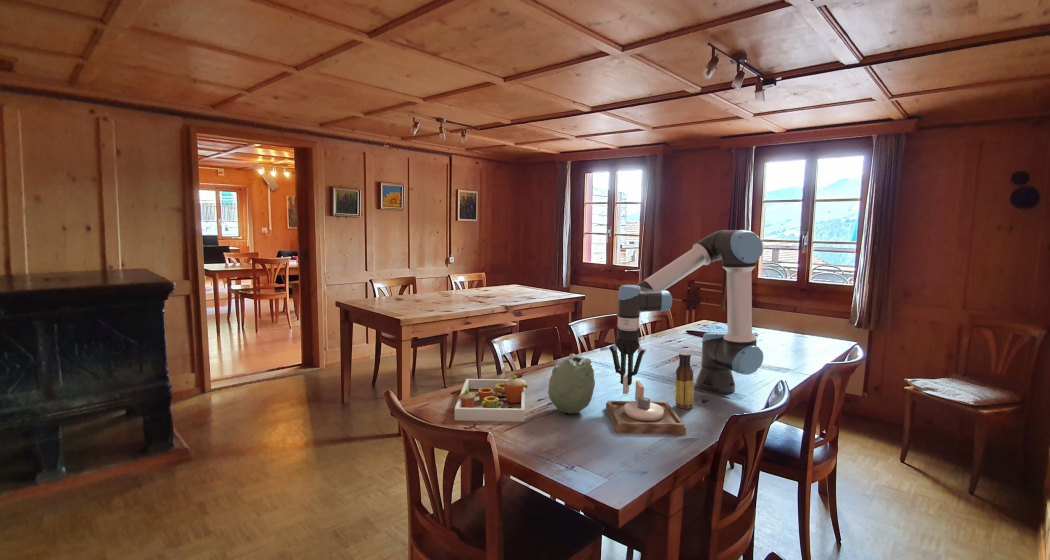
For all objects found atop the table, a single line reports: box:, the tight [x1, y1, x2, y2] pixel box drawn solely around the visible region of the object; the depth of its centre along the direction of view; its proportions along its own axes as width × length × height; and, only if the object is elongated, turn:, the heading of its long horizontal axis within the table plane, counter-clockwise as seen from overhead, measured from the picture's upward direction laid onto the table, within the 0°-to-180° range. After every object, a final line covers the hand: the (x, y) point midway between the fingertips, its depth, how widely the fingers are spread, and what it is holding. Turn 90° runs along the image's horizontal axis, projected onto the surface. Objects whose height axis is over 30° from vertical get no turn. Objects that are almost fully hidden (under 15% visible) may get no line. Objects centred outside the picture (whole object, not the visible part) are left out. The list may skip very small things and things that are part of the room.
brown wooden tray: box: [605, 400, 687, 435], centre depth 173 cm, size 22×22×3 cm
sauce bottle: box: [675, 352, 695, 410], centre depth 186 cm, size 7×6×20 cm
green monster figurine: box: [547, 353, 596, 414], centre depth 179 cm, size 16×19×20 cm
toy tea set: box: [458, 375, 529, 408], centre depth 186 cm, size 26×16×10 cm, turn 138°
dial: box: [624, 380, 664, 421], centre depth 175 cm, size 18×13×8 cm
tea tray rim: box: [454, 378, 526, 422], centre depth 187 cm, size 23×33×4 cm
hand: (625, 392), depth 184 cm, fingers closed
